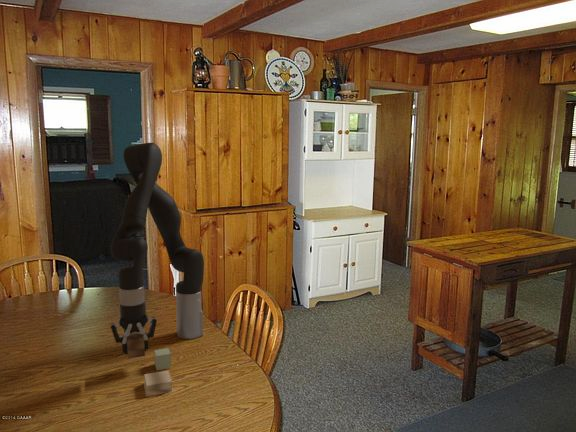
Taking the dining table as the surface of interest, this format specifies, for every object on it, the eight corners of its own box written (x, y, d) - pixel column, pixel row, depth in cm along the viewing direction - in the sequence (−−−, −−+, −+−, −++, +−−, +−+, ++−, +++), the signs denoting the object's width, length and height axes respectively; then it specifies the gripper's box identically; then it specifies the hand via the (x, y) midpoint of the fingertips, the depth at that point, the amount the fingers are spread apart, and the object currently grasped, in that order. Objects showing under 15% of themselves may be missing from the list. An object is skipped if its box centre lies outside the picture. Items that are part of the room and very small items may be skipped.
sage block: (169, 365, 159) (168, 348, 158) (171, 371, 155) (170, 353, 154) (154, 367, 157) (154, 350, 156) (156, 373, 153) (156, 356, 152)
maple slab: (168, 379, 147) (168, 370, 147) (172, 391, 141) (171, 381, 140) (144, 383, 145) (144, 374, 144) (147, 395, 138) (146, 385, 138)
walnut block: (143, 349, 156) (142, 331, 155) (144, 355, 151) (143, 337, 150) (126, 351, 154) (125, 334, 153) (128, 358, 149) (127, 340, 148)
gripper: (154, 293, 155) (157, 343, 159) (107, 299, 150) (110, 350, 153) (158, 301, 149) (160, 353, 152) (108, 307, 143) (112, 361, 146)
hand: (135, 351), depth 152 cm, fingers closed on walnut block, 5 cm apart
